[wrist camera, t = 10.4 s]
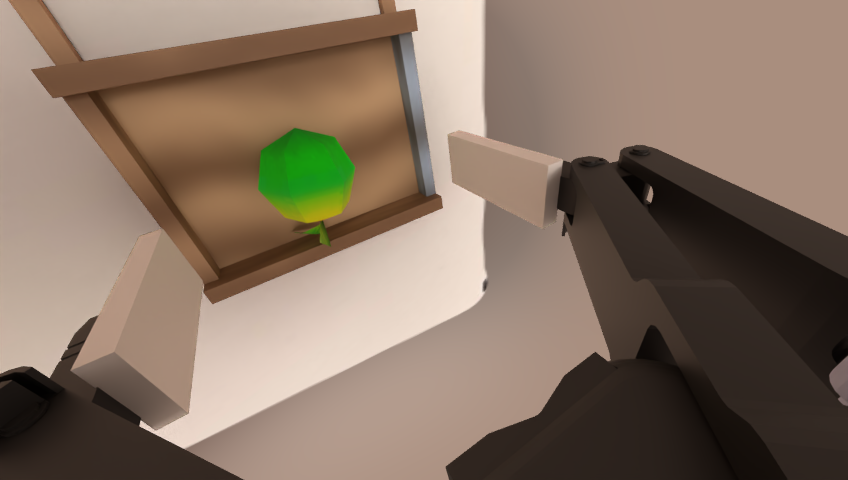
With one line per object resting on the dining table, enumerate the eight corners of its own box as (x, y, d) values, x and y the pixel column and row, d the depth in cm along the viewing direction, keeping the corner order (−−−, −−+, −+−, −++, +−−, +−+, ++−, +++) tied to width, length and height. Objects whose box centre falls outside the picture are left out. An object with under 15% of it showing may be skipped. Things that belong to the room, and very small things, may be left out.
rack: (-332, -479, 9) (-584, -724, 6) (334, -326, 15) (355, -411, 13) (214, 279, 25) (212, 304, 22) (425, 196, 31) (442, 207, 29)
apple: (301, 140, 16) (343, 275, 21) (362, 115, 21) (385, 229, 26) (208, 142, 18) (265, 262, 23) (282, 120, 23) (316, 222, 28)
